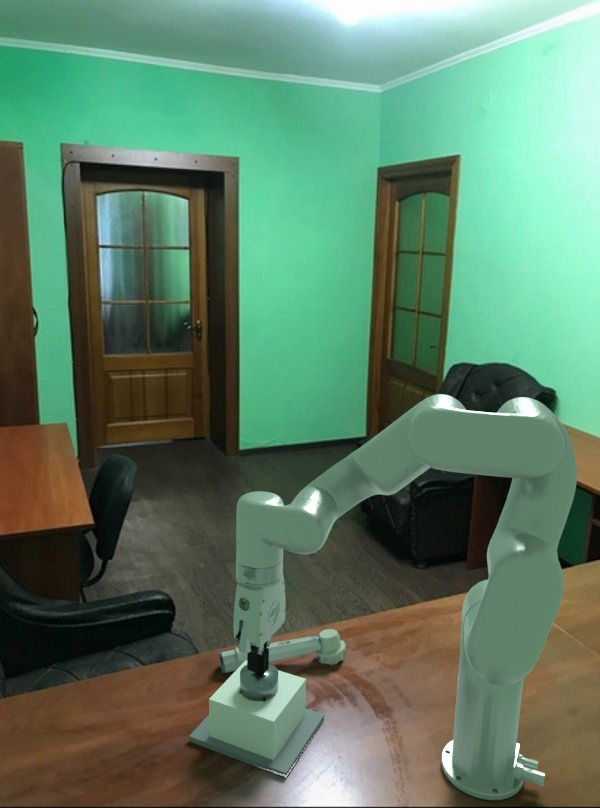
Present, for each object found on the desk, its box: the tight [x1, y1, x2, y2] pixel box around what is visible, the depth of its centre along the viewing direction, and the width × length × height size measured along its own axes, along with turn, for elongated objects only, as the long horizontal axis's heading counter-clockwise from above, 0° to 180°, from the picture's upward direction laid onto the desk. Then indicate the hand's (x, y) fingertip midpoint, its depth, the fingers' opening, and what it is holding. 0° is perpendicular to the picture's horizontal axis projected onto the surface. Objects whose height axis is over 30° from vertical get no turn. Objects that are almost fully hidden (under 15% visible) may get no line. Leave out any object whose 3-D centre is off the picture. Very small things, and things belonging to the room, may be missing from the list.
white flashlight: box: [218, 628, 347, 675], centre depth 130 cm, size 5×7×25 cm
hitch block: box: [188, 660, 325, 775], centre depth 111 cm, size 18×15×8 cm
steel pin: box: [240, 663, 278, 702], centre depth 111 cm, size 6×6×9 cm
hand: (257, 669), depth 110 cm, fingers closed
